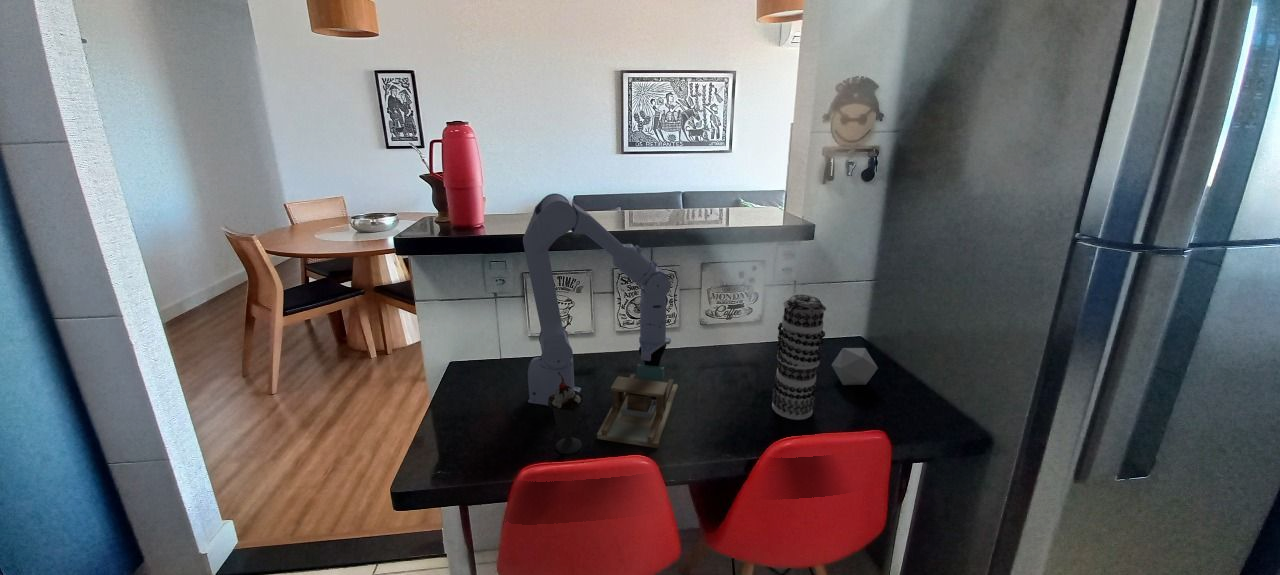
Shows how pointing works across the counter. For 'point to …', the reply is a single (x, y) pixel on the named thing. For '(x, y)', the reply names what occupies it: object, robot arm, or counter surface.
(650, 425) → the tunnel board
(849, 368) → the die
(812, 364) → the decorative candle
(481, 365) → the counter surface
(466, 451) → the counter surface
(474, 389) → the counter surface
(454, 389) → the counter surface
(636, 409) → the walnut block
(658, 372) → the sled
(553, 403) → the sundae
